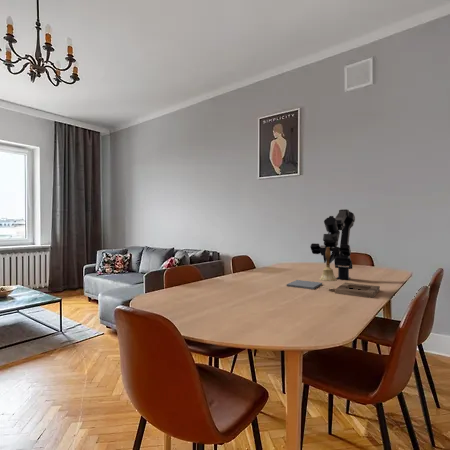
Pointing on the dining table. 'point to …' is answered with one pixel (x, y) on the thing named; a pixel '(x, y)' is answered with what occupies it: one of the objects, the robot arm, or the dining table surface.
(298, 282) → the grey rubber mat
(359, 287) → the walnut well board
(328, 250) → the hand bell
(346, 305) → the dining table surface
